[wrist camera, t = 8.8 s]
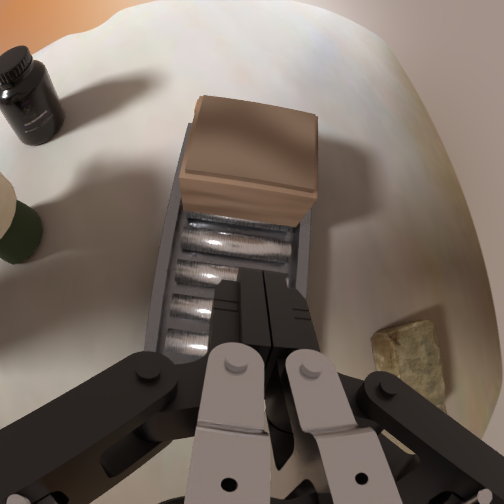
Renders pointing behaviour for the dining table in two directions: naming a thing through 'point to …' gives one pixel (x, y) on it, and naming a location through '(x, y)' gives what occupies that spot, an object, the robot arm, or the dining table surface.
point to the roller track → (204, 291)
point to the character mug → (16, 226)
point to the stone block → (413, 358)
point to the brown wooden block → (250, 161)
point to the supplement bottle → (28, 97)
